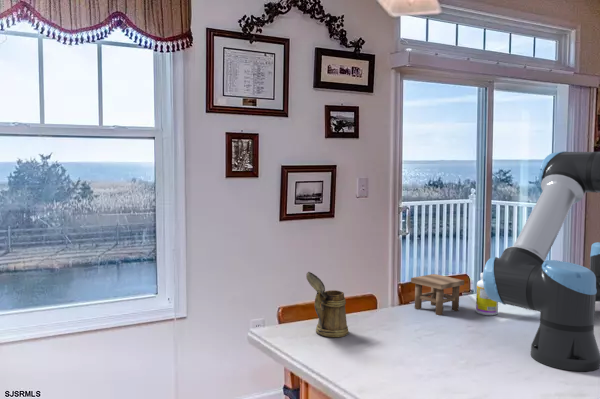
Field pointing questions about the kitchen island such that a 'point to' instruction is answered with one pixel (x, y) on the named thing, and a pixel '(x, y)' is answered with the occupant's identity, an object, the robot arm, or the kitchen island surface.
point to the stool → (437, 291)
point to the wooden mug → (329, 309)
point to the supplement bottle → (484, 300)
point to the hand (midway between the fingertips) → (514, 291)
